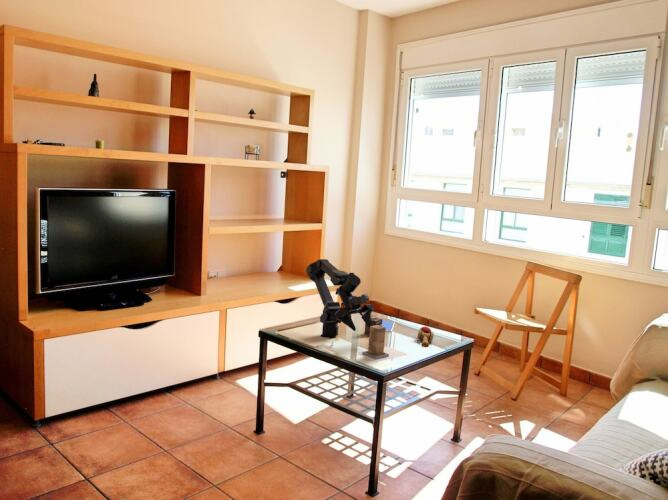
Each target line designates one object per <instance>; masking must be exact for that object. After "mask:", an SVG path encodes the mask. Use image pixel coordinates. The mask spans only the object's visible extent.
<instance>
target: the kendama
mask: <svg viewBox="0 0 668 500" xmlns="http://www.w3.org/2000/svg"><path fill="white" fill-rule="evenodd" d="M434 335H435V334H434V331H433V332H432V330H431V328H430V327H429V326H422V327H420V328H419V330H418V332H417V337H416V338H417V340H421V339H422V343H421V346H422V347H423V348H426V347H428V348H429V346H430V345H429V343H430V342H431V343H433V339H434Z"/></svg>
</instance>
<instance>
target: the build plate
mask: <svg viewBox="0 0 668 500" xmlns="http://www.w3.org/2000/svg"><path fill="white" fill-rule="evenodd" d="M355 354H357V355H359V356H361V357H364V358H367V359H369V360H370V361H373V362H375V363H379V362H382V361H386V360H390V359H394V358H399V357H402V356H408V353H407V352H404V351H401V350H398V349H396V348H392V347H390V346H384V353H383V355H380V356H373V355H371V354H368V350H365V351H361V352H357V353H355Z"/></svg>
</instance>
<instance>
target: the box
mask: <svg viewBox="0 0 668 500" xmlns="http://www.w3.org/2000/svg"><path fill="white" fill-rule="evenodd" d="M382 321H384V319H382V318H379V317H374V316H372V317H371V325H372V326H375V325H379V326H382ZM364 323H365V322H364ZM364 334H365V335H369V334H370V328H369V327H368V326H367V324H366V323H365V324H364Z"/></svg>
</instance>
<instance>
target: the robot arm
mask: <svg viewBox="0 0 668 500" xmlns="http://www.w3.org/2000/svg"><path fill="white" fill-rule="evenodd" d="M305 268H306V270H305V272H306V275H307V276H308V278H309V279H310V280H311V281H312V282H314V285H315V287H316V290H317V292H318V294H319V298H320V300H321V302H322V305H323V309H322V313H321V314H320V316H319V320H320V324H321V323H322V329H321V330H322V333H321V334H320V336H321V337H324V338H331V339H332V338H333V339H335V338H336V337H337V336H338V335H339V328H340V327H339V325H338V324H341V323H343V324H344V325H346V326H347V327H348V328H349V329H350V330H352V331H354V332H356V331H357V328H356V325H355V323H354V321H353V319H352V315H356V314H359V315H360V317H361V319H362V320H363V322H364V323H366V324H367V326H368V327H369V328H370V326H372V325H371V315H372V312H374V310H375V307H374V305H373V304H371V303H369V304H368V301H370V297H369V295H368V293H364V294H361V295H360V296H357V295H354V292H355V291H356V289H357V288H358V287H359V286H360V285H361V283H362V281H361V278H360V277H359V276H358V275H356V274H355V273H354V272H349V273H348V272H346V271H345V270H340V269H338V268H337V267H336V266H334V265H333V264H332V263H331V262H330V261H329V260H328V259H326V258H323V259H322V258H321V259H320V258H318V259H317V260H316V261H313V262H311V263H310V264H308V265H307V267H305ZM325 275H327V276H328V277H329V278H330V282H331V284H332V285H333V286H335V287H336V286H339V287H337V288H335V295H336V296H337V295H338V296H339V297H340V298H339V299H340V300H341V302H342V303H340V302H339V301H334V298H333V297H332V294H331V292H330V289H329V287H328V284H327V281H326V279H325ZM341 306H342V307H341ZM343 306H344V307H343Z"/></svg>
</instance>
